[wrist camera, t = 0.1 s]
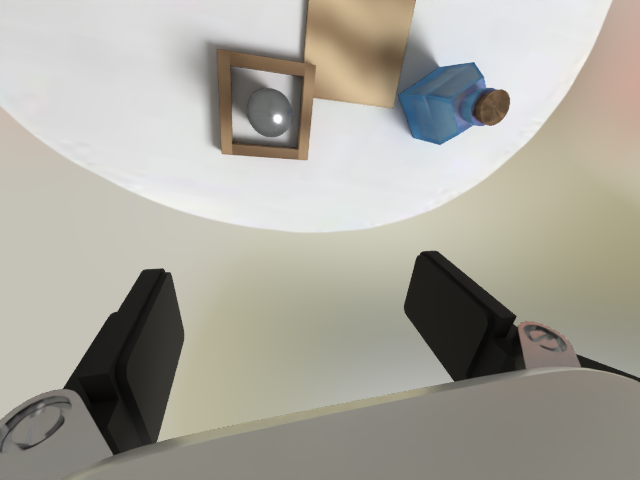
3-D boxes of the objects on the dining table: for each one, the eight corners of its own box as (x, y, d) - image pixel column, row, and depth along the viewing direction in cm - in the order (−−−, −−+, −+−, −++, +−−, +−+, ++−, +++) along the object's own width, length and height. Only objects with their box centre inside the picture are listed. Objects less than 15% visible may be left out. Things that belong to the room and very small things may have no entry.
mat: (310, -38, 27) (312, -41, 27) (415, -11, 30) (418, -13, 30) (300, 96, 33) (301, 95, 32) (390, 108, 36) (393, 108, 35)
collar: (218, 50, 29) (216, 48, 28) (313, 66, 32) (316, 65, 30) (222, 151, 34) (221, 154, 32) (305, 157, 36) (307, 160, 35)
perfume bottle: (413, 137, 38) (474, 153, 28) (398, 95, 35) (459, 95, 25) (451, 112, 38) (527, 119, 28) (439, 67, 35) (519, 55, 25)
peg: (247, 86, 31) (247, 85, 26) (286, 92, 32) (293, 91, 27) (247, 128, 33) (247, 135, 28) (284, 131, 34) (290, 139, 29)
